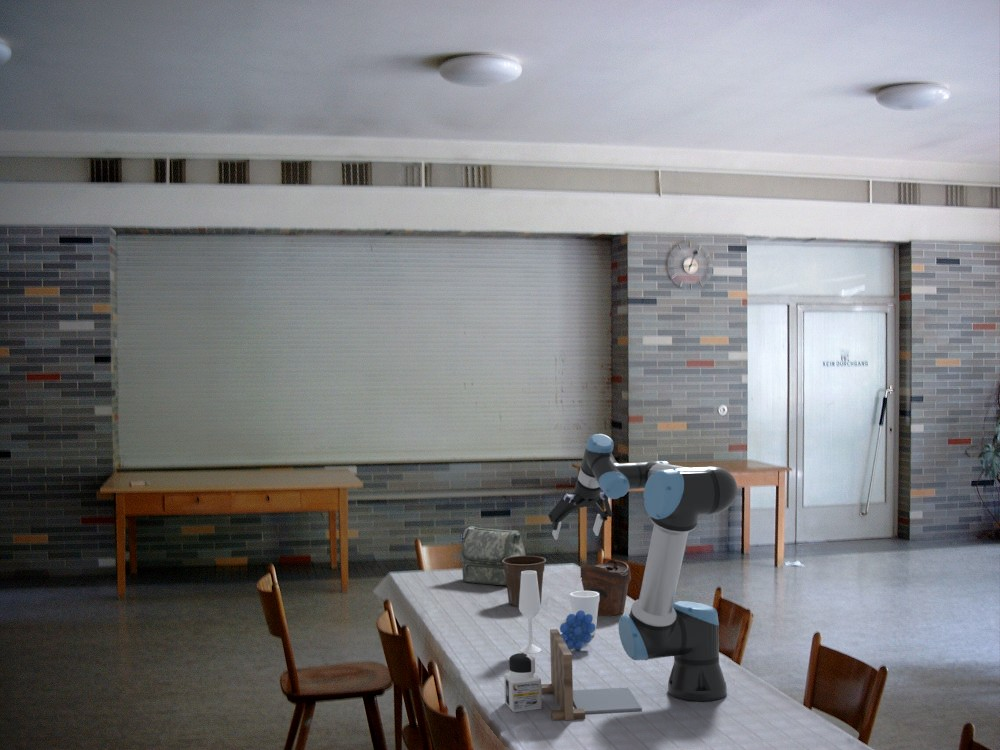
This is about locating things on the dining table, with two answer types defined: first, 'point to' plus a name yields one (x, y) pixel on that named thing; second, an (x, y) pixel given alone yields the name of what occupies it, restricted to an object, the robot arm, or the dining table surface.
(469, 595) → the dining table surface
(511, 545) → the lunch bag
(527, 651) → the champagne flute
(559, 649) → the screen
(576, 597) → the foam cup
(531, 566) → the plant pot
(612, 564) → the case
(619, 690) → the mat
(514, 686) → the container
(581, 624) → the grapes
